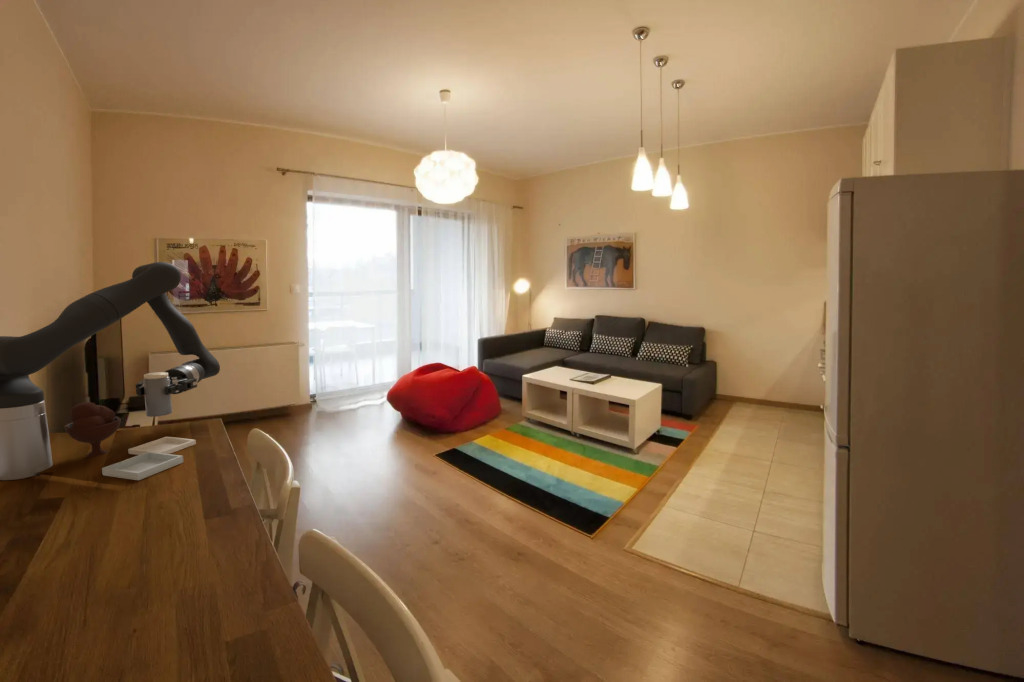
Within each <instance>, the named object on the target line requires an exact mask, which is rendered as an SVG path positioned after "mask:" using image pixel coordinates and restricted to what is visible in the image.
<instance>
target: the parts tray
mask: <svg viewBox="0 0 1024 682" xmlns="http://www.w3.org/2000/svg"><path fill="white" fill-rule="evenodd" d="M196 441H197V440H196V439H191V438H182V437H173V436H164V437H161V438H158V439H156V440H151V441H149V442H148V441H147V442H146V443H143V444H140V445H137V446H134V447H130V448H128V450H127V451H128V455H135V456H138V455H141V454H143V453H146V452H157V453H165V454H173V453H176V452H178V451H181V450H184V449H187V448H190V447H192V446H194V445H196V444H197V442H196Z"/></svg>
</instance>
